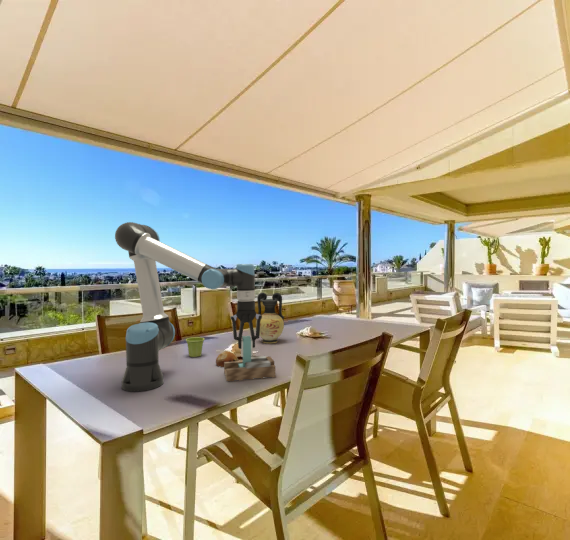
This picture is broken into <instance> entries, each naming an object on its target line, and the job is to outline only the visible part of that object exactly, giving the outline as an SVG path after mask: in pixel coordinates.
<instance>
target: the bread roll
mask: <svg viewBox="0 0 570 540" xmlns="http://www.w3.org/2000/svg"><path fill="white" fill-rule="evenodd" d="M233 361H239V358H238V356H237V355H236V354H234V353H233V352H232V351H229V350H226V351H225V350H224V351H222V352H221V353H220V354H218V355H217V357H216V359H215V364H216V366H217V367H219V366H221V367H220V368H224V362H233Z"/></svg>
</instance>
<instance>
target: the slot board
mask: <svg viewBox="0 0 570 540" xmlns="http://www.w3.org/2000/svg"><path fill="white" fill-rule="evenodd" d="M241 363H243V360H238V361H233V362H224V367H223V369H224V376H225V380H226V382H227V381H228V382H235V381H234V380H239V381H244V380H243V379H250V380H254V379H253V378H261V379H264V378H263V377H272V378H276V365H275V361H274V359H273V358H272V357H271V356H266V355H256V356H254V355H253V356H251V362H245V366H246V367H241V368H239V367H238V364H241Z"/></svg>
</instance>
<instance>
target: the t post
mask: <svg viewBox="0 0 570 540" xmlns="http://www.w3.org/2000/svg"><path fill="white" fill-rule="evenodd" d="M251 339H252V338H251V335H242V340H243V357H242V361H243V363H241V364H238V367H239V368H241V367H246V366H245V362H251V357H252V356H251Z"/></svg>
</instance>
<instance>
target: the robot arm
mask: <svg viewBox="0 0 570 540" xmlns="http://www.w3.org/2000/svg"><path fill="white" fill-rule="evenodd" d="M114 239H115V242H116V244H117V245H118V246H119V248H121V249H123V250H125V251H127V252H128V257H129V259H130V260H132V261H133V265H134V271H135V275H136V276H135V277H136V283H137V287H138V294H139V299H140V306H141V311H142V318H141V320H140V321H139V323H135V324H132V325H130V326H129V327H128V328H127V329H126V333H125V348H126V349H125V353H126V355H125V357H126V358H125V360H126V361H125V362H126V363H125V365H126V367H125V370H124V373H123V377H122V379H121V389H122V390H124V391H127V392H143V391H144V392H145V391H149V390H154V389H157V388H159V387H160V386H162V385H163V384H164V374H163V372H162V369H161V366H160V364H159V362H160V361H159V357H160V356H159V351H161V350H163V349H165V348H167V347H168V346H169V345H170V344H171V343H172V342H173V341H174V339H175V335H176V329H175V326H174V324H172V323H171V321H170V317H169V315H168V314H167V313H165V310H164V309H165V308H164V304H163V297H162V291H161V287H160V280H159V274H158V269H157V263H159V264H161V265H163V266H165V267H168V268H169V269H171V270H174V272H177V273H179V274H182V275H184V276H186V277H188V278H190V279H192V280H194V281H197V282H199V284H202V285H203V286H204V287H205V288H207V289H209V290H216V289H220V288H223V287H226V288H228V287H236V299H237V302H236V313H235V314H234V315H231V316H230V317H229V318H230V321H231V322H232V333H233V334H232V335H233V340H235V341H237V344H238V345H237V347H238V349H240V356H241V358H243V340H242V336H243V333H244V326H245V323H248V326H249V331H250V333H249V334H250V337H251V357H254V353H253V352H254V351H253V350H254V349H255V348H256V340H257V339H260V321H261V318H262V316H261V315H262V314H261V315H258V313H257V311H256V301H255V299H256V295H255V294H256V289H255V286H256V284H255V283H256V278H255V276H256V274H255V265H254V264H252V263H238V264H236V267H235V268H215V267H213V266H211V265H209V264H207V263H205V262H203V261H201V260H199V259H197V258H195V257H192V256H191V255H189V254H187V253H184V252H182V251H180V250H178V249H176V248H175V247H172V246H170V245H167V244H165V243H163V242H161V240H160V236H159V234H158V232H157V231H156V230H155V229H154V228H152V227H151V226H150V225H146V224H140V223H137V222H133V221H132V222H131V221H129V222H127V221H126V222H124V223H122V224H120V225H119V226H118V227H117V228H116V230H115V234H114ZM237 318H238V320H239V321H240V322H239V329H238V332H237V323H236V321H237ZM254 319H256V320H257V322H256V321H255V327H256V328H255V331H254V325H253V320H254Z"/></svg>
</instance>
